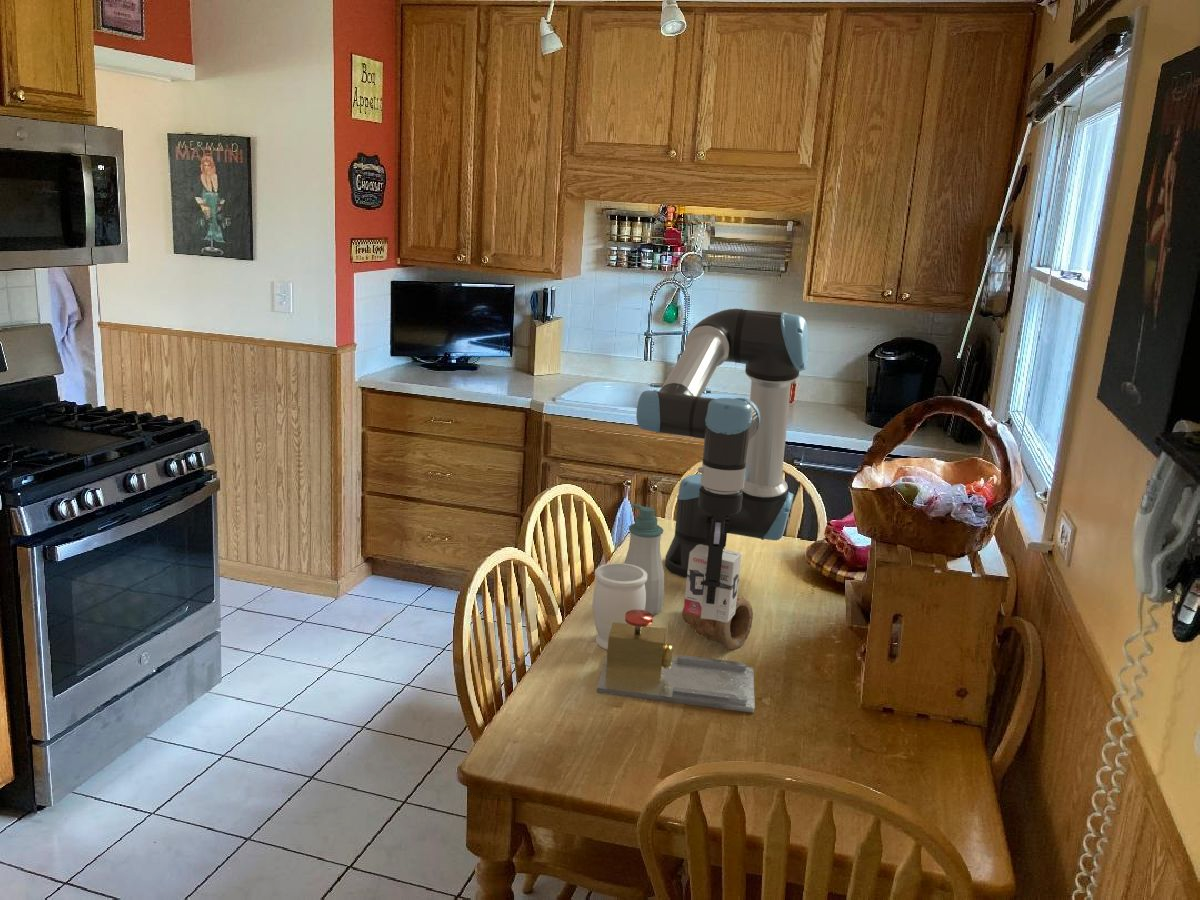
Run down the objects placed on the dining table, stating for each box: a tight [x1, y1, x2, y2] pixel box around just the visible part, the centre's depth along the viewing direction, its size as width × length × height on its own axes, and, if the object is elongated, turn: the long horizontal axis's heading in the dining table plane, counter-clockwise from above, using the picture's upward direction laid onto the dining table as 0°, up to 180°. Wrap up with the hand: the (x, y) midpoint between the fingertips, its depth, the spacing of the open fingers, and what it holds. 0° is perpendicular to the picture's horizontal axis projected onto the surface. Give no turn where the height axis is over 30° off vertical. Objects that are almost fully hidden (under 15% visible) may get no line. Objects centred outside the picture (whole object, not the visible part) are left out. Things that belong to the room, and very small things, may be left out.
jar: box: [592, 562, 648, 651], centre depth 186 cm, size 11×10×15 cm
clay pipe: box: [681, 595, 754, 650], centre depth 194 cm, size 19×11×15 cm
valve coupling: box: [596, 610, 756, 714], centre depth 173 cm, size 15×28×12 cm, turn 82°
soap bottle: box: [623, 503, 665, 617], centre depth 201 cm, size 10×10×23 cm
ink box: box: [683, 544, 742, 623], centre depth 168 cm, size 8×5×12 cm, turn 65°
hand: (709, 610), depth 170 cm, fingers closed on ink box, 6 cm apart
